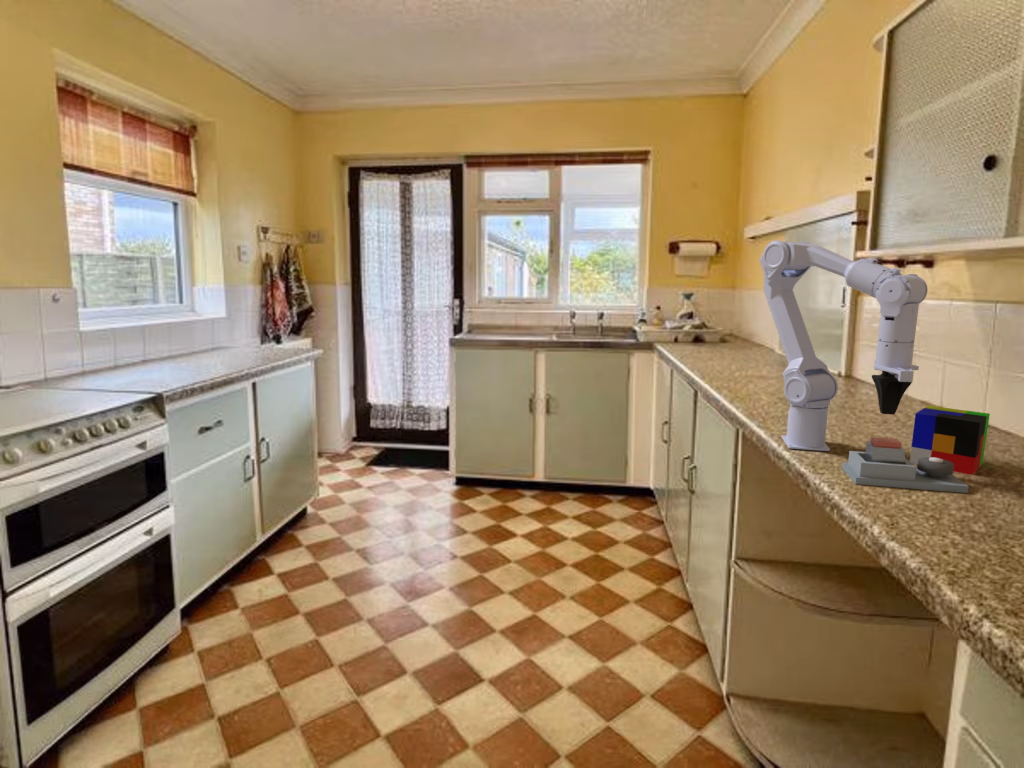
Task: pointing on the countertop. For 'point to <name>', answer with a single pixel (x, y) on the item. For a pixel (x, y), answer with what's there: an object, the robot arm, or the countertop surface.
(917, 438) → the puzzle toy
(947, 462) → the wheel
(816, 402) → the robot arm
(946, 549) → the countertop surface
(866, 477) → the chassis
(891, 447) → the red and grey block
